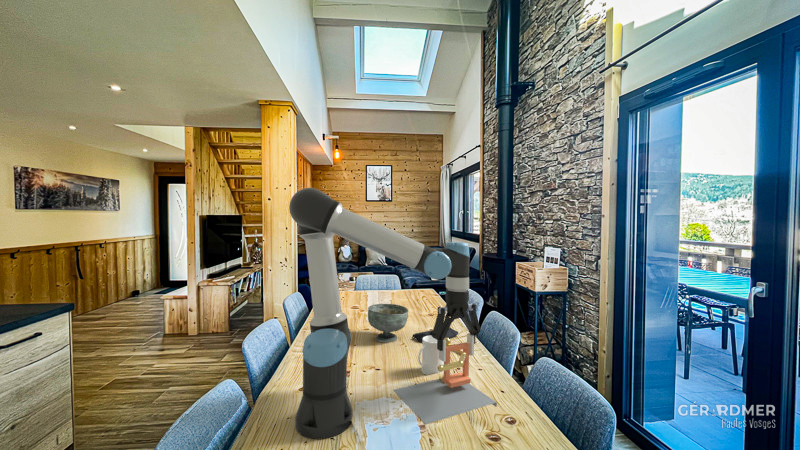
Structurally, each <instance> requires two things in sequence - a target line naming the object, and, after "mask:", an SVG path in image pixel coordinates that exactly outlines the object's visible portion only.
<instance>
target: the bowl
mask: <svg viewBox="0 0 800 450" xmlns="http://www.w3.org/2000/svg"><path fill="white" fill-rule="evenodd" d="M408 319H409V309H408V308H407V307H405V306H403V305H400V304H396V303H395V304H394V303H375V304H372V305H370V306H368V308H367V322H368V323H369V325H370V326H371V327H372V328H374V329H375V330H377V331H380V332H382V333H379V334H377V335H376V337H375V340H376V341H377V342H379V343H387V344H388V343H391V342H392V343H393V342H396V341H397V339H398V336H397V335H396V334H395V333H393V332H398V331H400V330H402V329H403V328H404V327H406V324H407V322H408Z"/></svg>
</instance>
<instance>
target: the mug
mask: <svg viewBox="0 0 800 450" xmlns="http://www.w3.org/2000/svg"><path fill="white" fill-rule="evenodd" d="M421 343H422V345H421V346H422V347H421V348H420V350H419V352H418V356H417V360H418V363H419V365H420V367H421V373H422V374H423V375H426V376H431V375H435V374H436V375H437V374H440V373H444V371H442V372H440V371H438V366H439V365H444V362H443V361H442V360H440V359H439V350H438V349H437V340H436V339H435V338H433V337H432V335H430V336H425V337H423V339H422V342H421ZM421 356H422V357H421Z"/></svg>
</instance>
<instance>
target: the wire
mask: <svg viewBox="0 0 800 450" xmlns="http://www.w3.org/2000/svg"><path fill="white" fill-rule="evenodd" d="M444 340H445V341H446V346H449V345H451V343H452V342H451V341H452V340H451V338H450V339H449V338H444ZM451 352H452V353H453V354H455V355H457V356H459V358H458V359H459V360H458V361H454V362H450V363H449V364H444V365H439V366H438V371H440V373H443V372H442V371H446V370H450V371H451V370H454V369H458V368H463V363H464V360H465V357H466V353H465V352H463V350H462V349H461V350H456V351H451ZM443 376H444V374H443V375H439V376H438V377H439V378H438V379H440V380H441V381H442V377H443ZM442 382H443V381H442Z"/></svg>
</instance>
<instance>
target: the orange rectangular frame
mask: <svg viewBox="0 0 800 450" xmlns="http://www.w3.org/2000/svg"><path fill="white" fill-rule="evenodd" d="M456 350H461V351H463V352H465V353H466V357H465V360H464V363H463V366H462V372H458V373H453V374H451V369H450V370H446V371H444V372H443V375H444V376H443V377H442V381H443V382H444V383H445V384H447V385H448V386H449V387H451V388H453V387H457V386H461V385H465V384H471V378H470V377H469V375H470V374H469V371H470V369H469V368H470V361H469V360H470V354H469V343H467V341H466V342H461V343H456V344H450V345H449V346H446V362H444V364H449V363H451V352H452V351H456Z"/></svg>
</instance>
